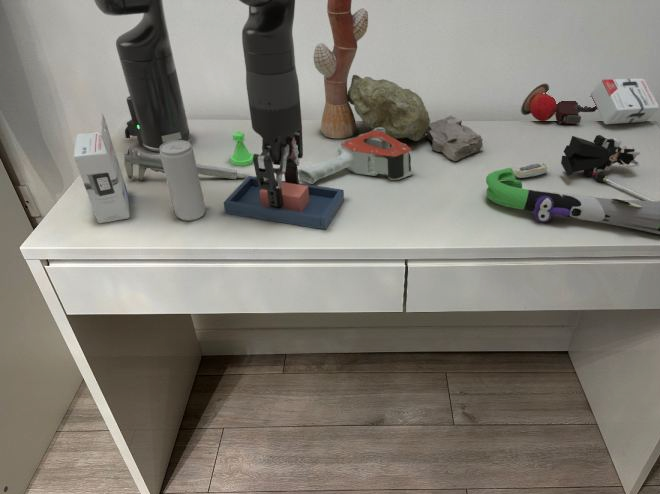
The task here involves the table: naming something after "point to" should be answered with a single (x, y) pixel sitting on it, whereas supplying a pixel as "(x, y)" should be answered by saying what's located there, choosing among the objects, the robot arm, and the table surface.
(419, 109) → the rock
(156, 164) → the caliper
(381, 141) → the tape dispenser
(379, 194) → the table surface
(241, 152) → the game piece
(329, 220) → the tray
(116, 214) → the product box
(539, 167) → the bacterium model
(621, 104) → the ink box
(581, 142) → the toy
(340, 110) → the plant stem model
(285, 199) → the eraser
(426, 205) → the table surface
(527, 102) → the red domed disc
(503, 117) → the table surface
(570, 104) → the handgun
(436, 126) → the stone
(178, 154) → the beverage can
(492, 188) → the toy
